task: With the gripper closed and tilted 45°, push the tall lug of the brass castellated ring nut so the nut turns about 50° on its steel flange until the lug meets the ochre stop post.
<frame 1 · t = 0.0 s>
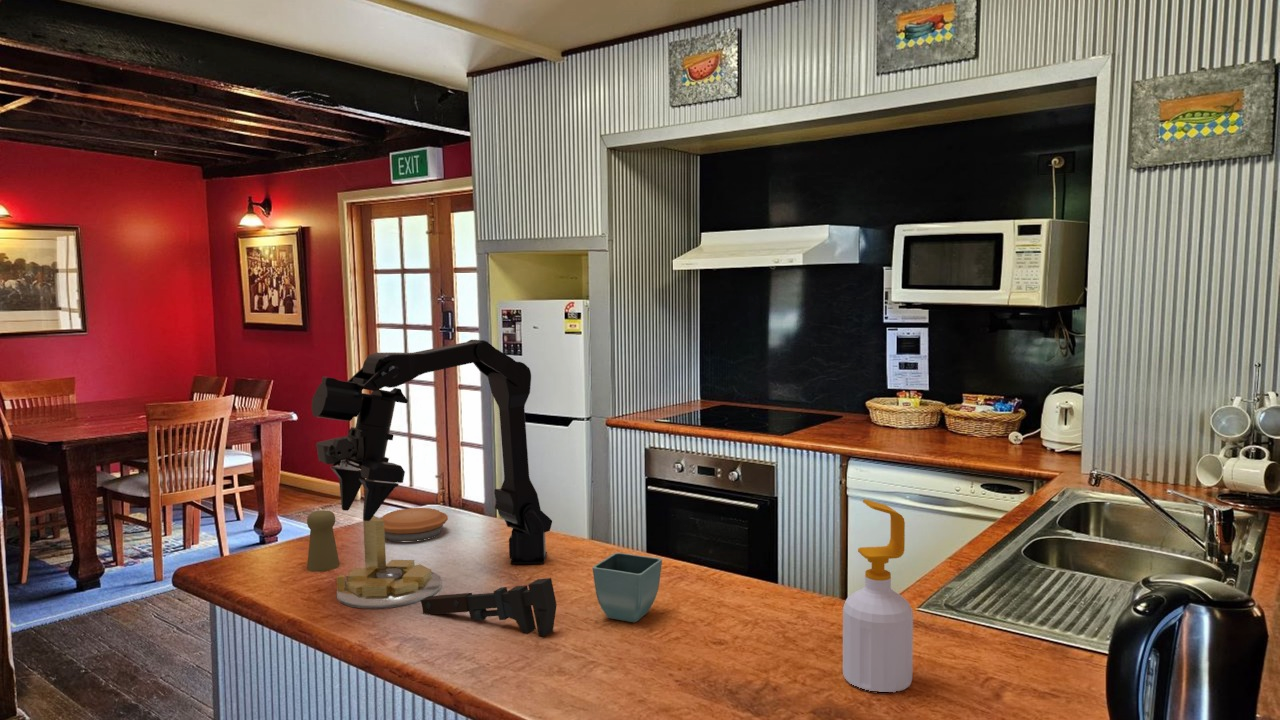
hand: (355, 515, 148), 15 cm above the counter, tool pointing down, fingers open, 9 cm apart
pie: (412, 536, 190), on the counter
soap bottle: (877, 680, 118), on the counter
cork: (323, 567, 169), on the counter
adjustable wrench: (486, 625, 140), on the counter
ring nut: (386, 552, 155), point 7 cm above the counter, hinge at 0.0°
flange: (390, 590, 155), on the counter
flower pot: (628, 617, 141), on the counter
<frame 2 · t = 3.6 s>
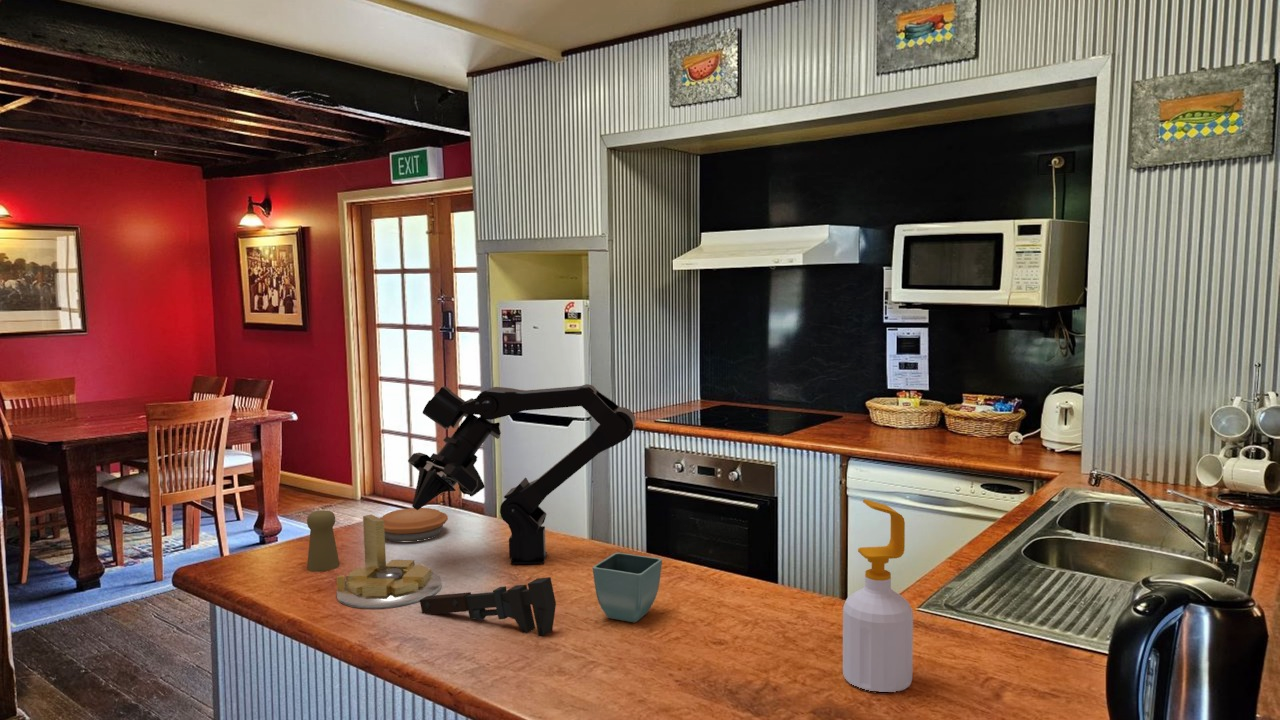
hand: (414, 508, 163), 13 cm above the counter, tool tilted 45°, fingers closed
nothing on the counter moved.
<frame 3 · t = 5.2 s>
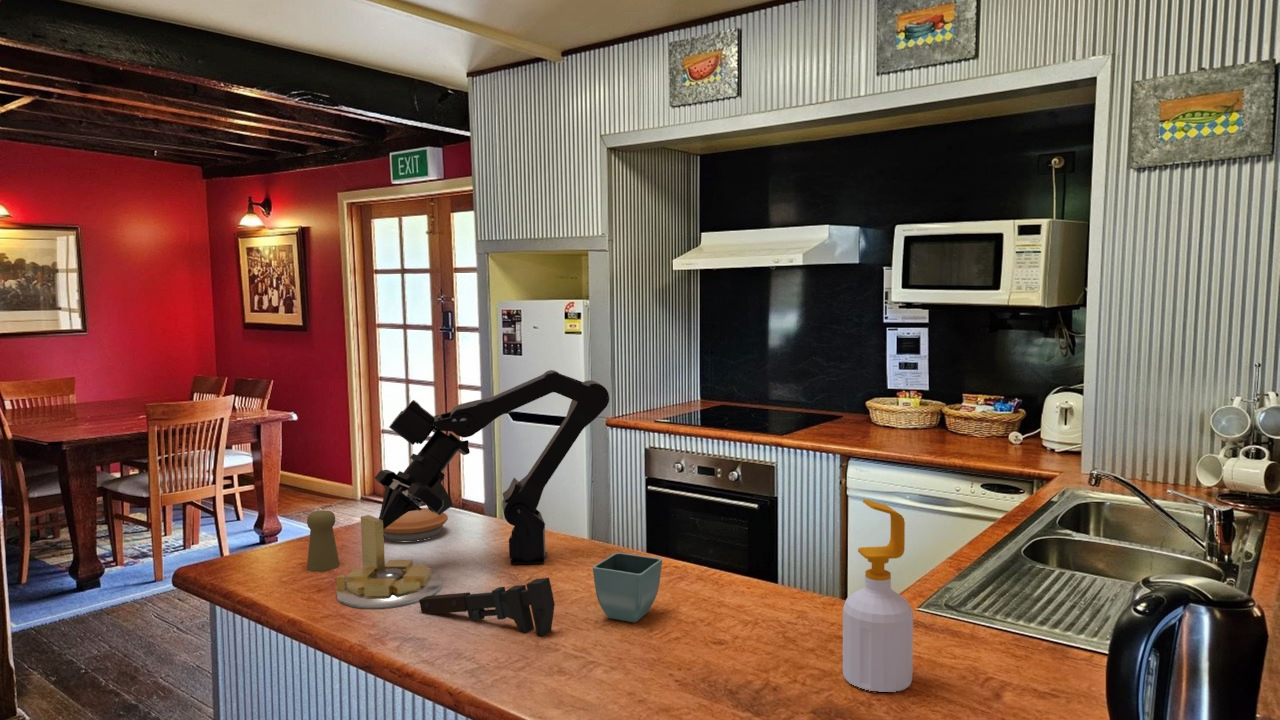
hand: (379, 528, 159), 10 cm above the counter, tool tilted 45°, fingers closed, pressing on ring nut
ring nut: (386, 552, 155), point 7 cm above the counter, hinge at 3.4°, touching gripper
everything else where it was.
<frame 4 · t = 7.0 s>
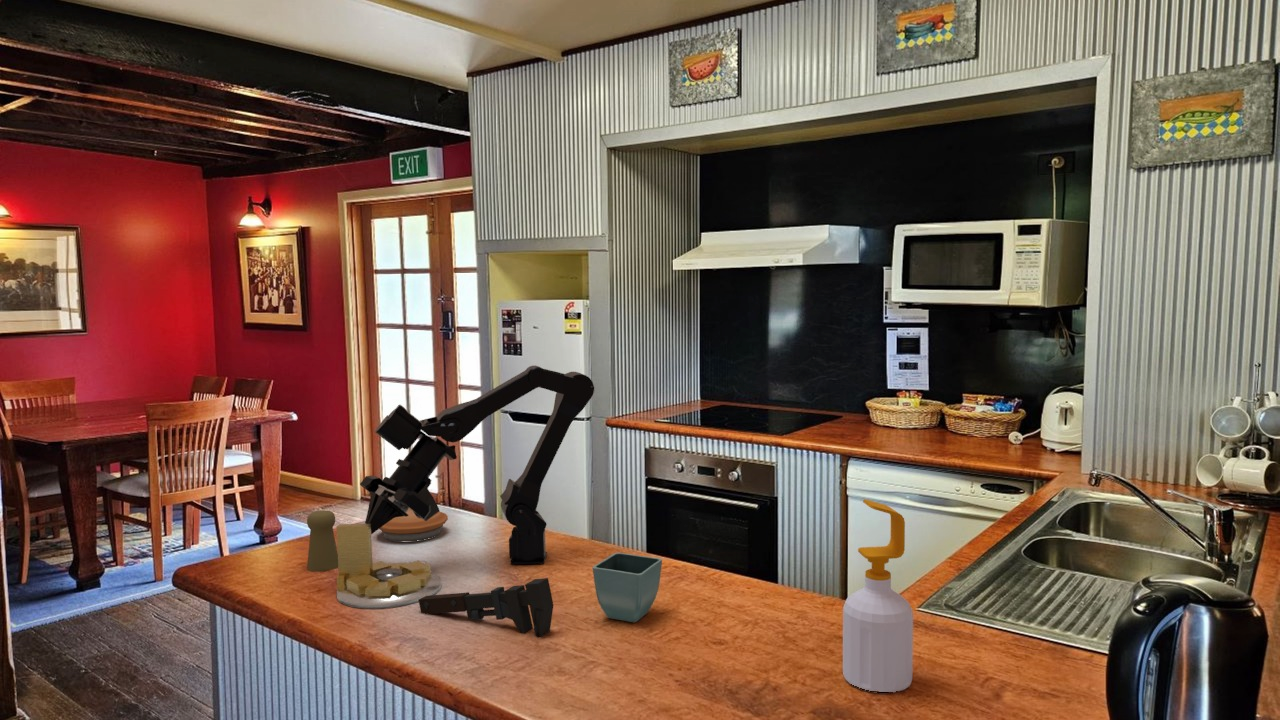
hand: (365, 534, 157), 10 cm above the counter, tool tilted 45°, fingers closed
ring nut: (383, 553, 155), point 7 cm above the counter, hinge at 49.4°
everything else where it was.
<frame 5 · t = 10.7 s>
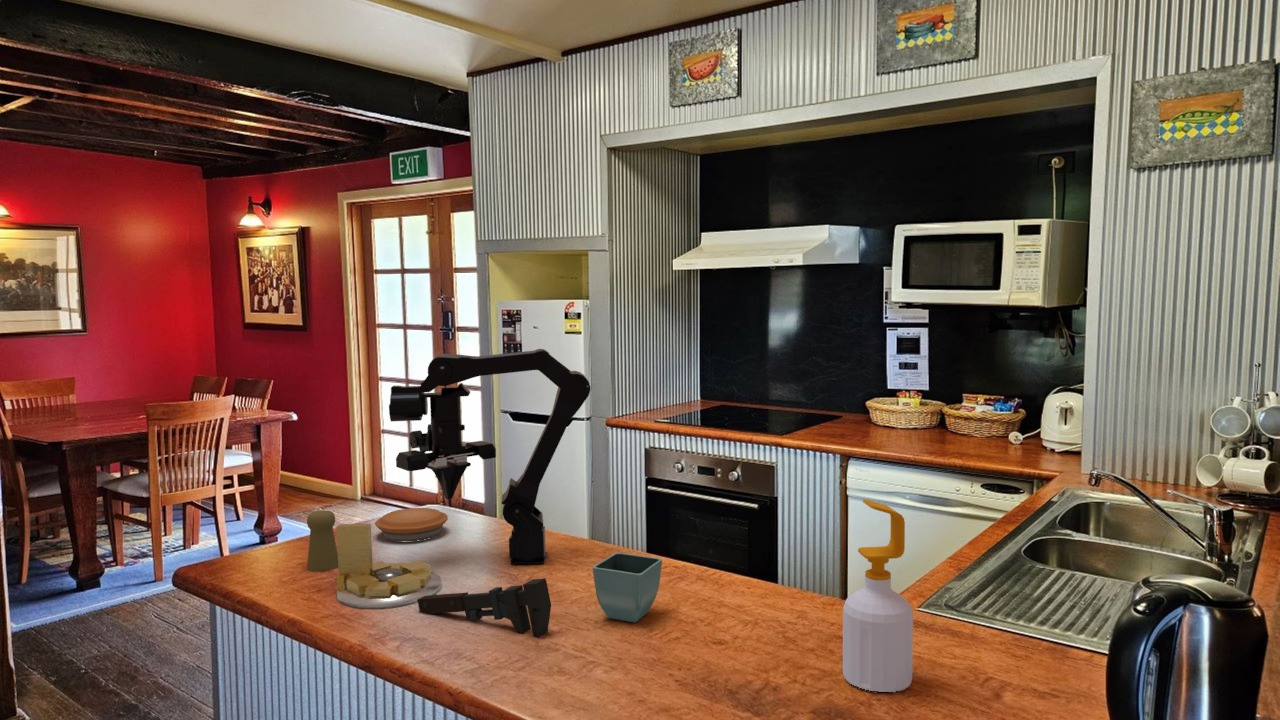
hand: (448, 499, 168), 13 cm above the counter, tool pointing down, fingers closed
nothing on the counter moved.
at the end: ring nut at +49° (first picture: +0°) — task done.
